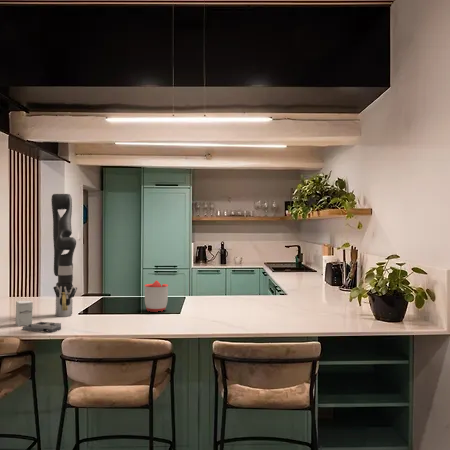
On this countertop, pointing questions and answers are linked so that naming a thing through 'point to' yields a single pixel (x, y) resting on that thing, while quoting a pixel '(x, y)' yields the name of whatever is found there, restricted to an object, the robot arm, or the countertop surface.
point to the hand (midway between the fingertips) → (64, 305)
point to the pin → (64, 302)
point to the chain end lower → (32, 328)
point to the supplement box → (24, 312)
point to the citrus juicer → (156, 296)
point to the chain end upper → (47, 326)
